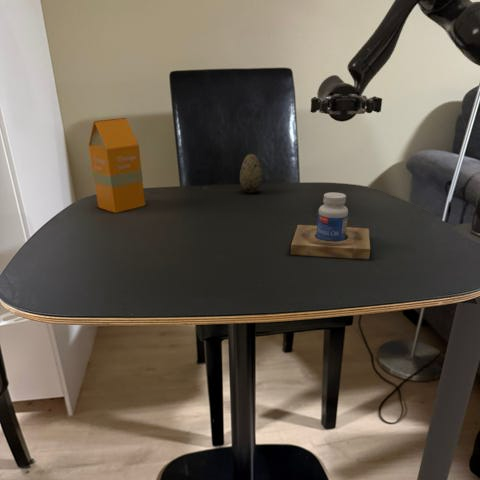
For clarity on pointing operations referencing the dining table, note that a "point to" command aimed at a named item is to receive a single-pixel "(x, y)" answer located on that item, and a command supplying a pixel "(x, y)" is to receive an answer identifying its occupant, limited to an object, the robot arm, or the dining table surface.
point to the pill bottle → (332, 218)
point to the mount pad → (331, 243)
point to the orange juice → (116, 165)
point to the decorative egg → (250, 174)
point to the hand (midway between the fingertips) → (347, 107)
